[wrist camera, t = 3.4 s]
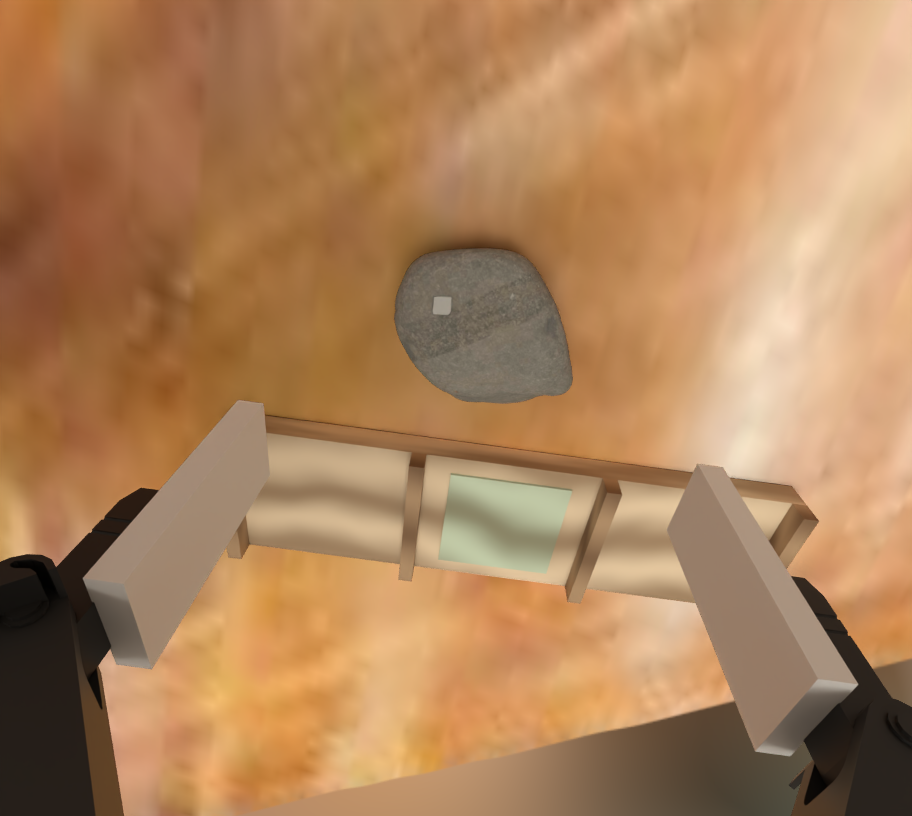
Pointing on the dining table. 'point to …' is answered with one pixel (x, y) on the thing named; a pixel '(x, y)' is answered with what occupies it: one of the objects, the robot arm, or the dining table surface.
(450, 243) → the dining table surface
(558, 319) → the stone
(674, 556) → the ledge
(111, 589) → the robot arm
